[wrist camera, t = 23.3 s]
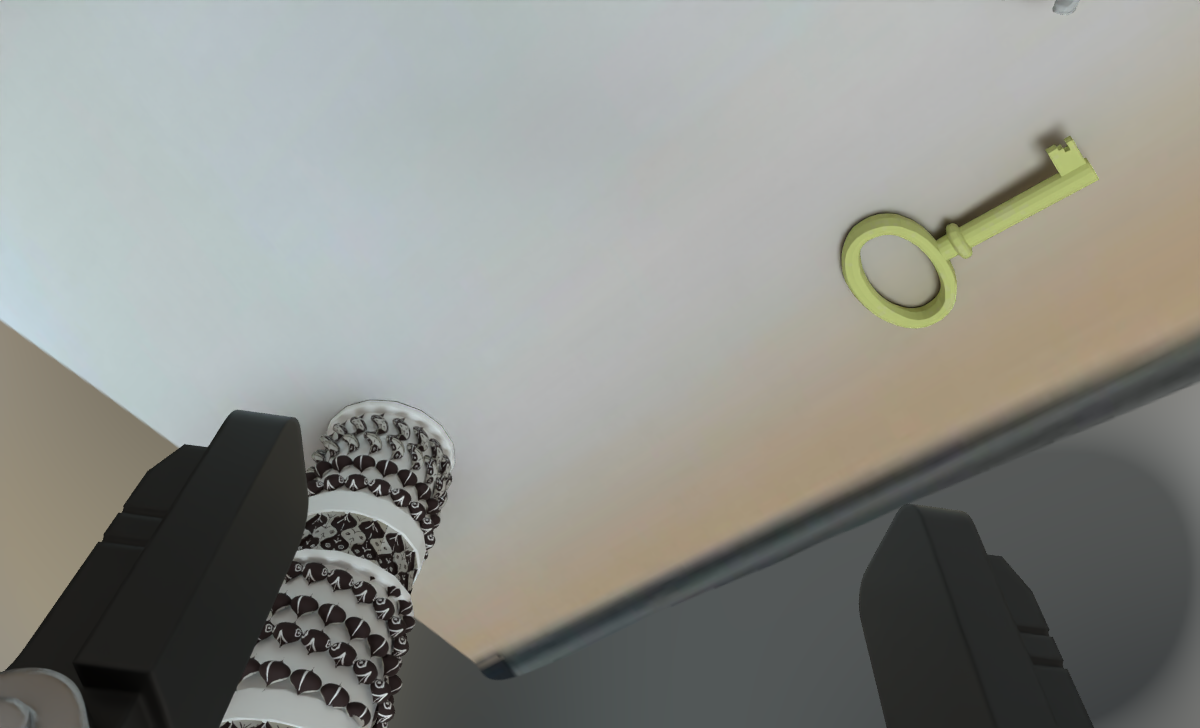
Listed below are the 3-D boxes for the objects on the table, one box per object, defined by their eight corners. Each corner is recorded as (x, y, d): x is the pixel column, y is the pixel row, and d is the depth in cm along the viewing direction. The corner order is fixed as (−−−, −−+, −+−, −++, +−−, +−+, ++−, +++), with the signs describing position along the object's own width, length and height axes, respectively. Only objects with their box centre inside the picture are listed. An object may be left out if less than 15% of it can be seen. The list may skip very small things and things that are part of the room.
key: (1096, 151, 38) (1116, 170, 36) (911, 331, 45) (921, 354, 43) (984, 72, 36) (1000, 88, 34) (809, 272, 43) (815, 294, 41)
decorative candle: (296, 402, 50) (67, 827, 30) (438, 387, 49) (295, 821, 29) (348, 502, 56) (182, 919, 36) (476, 491, 54) (378, 917, 35)
